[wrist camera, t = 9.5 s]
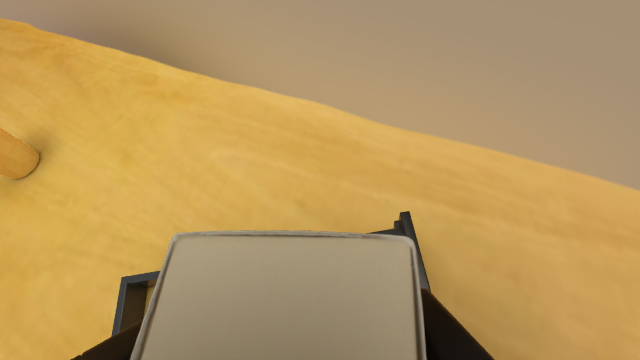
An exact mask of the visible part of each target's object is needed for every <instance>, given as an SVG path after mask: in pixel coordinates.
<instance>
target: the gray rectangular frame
mask: <svg viewBox="0 0 640 360" xmlns="http://www.w3.org/2000/svg"><path fill="white" fill-rule="evenodd" d="M159 274H160V271H156V272H150V273H144V274H138V275H132V276H126V277H122V279H121V284H120V290H119V296H118V302H117V308H116V313H115V319H114V325H113V331H112V336H114V335H116V334H118V333H119V332H121V331H123V330H125V329H127V328H128V327H130V326H132V325H134V324H136V323H137V322H139V321H141V320H143V313H144V305H145V298H146V290H147V288H148V287H154V286H155V285H156V283H157V280H158V277H159ZM112 336H111V337H112Z"/></svg>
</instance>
